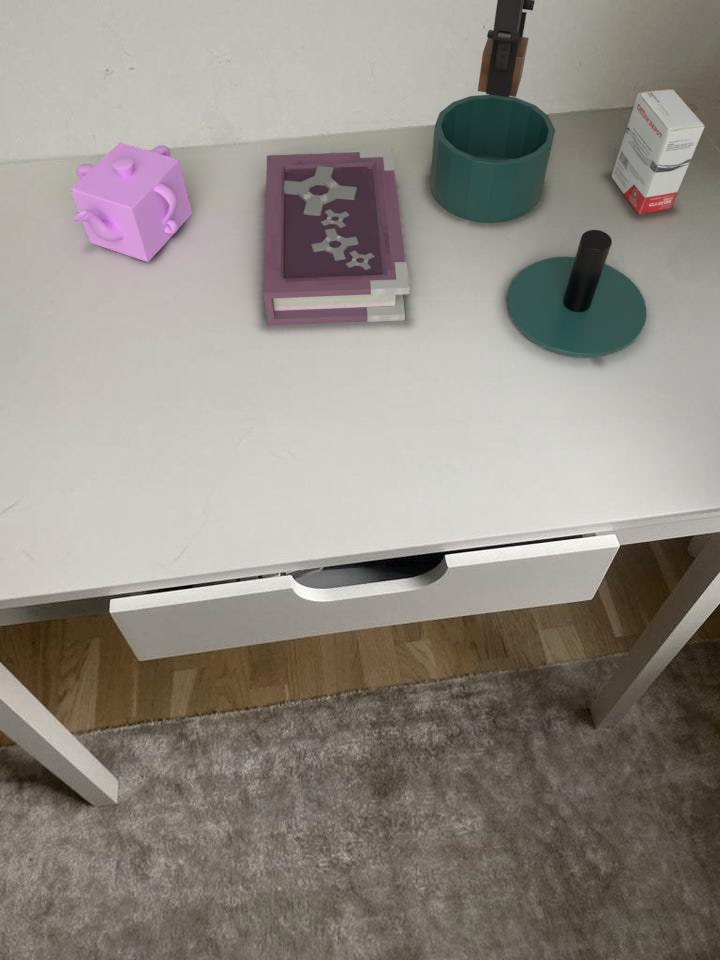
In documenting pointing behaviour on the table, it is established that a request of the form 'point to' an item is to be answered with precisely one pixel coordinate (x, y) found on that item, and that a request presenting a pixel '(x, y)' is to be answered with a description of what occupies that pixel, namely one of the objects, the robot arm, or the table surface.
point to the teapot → (132, 200)
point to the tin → (490, 157)
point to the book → (333, 239)
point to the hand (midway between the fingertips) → (501, 81)
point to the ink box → (656, 150)
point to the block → (517, 69)
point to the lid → (578, 302)
